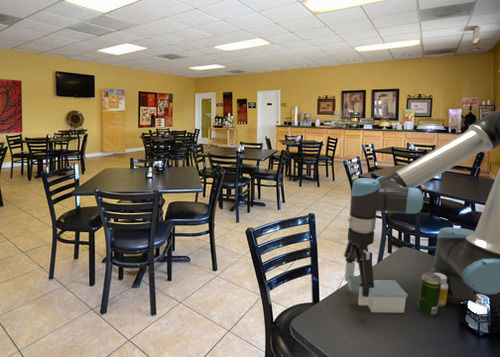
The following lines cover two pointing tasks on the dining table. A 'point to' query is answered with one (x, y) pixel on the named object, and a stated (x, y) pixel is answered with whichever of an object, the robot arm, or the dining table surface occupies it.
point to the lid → (378, 287)
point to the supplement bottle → (442, 289)
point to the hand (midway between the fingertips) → (355, 291)
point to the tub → (386, 304)
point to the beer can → (429, 293)
